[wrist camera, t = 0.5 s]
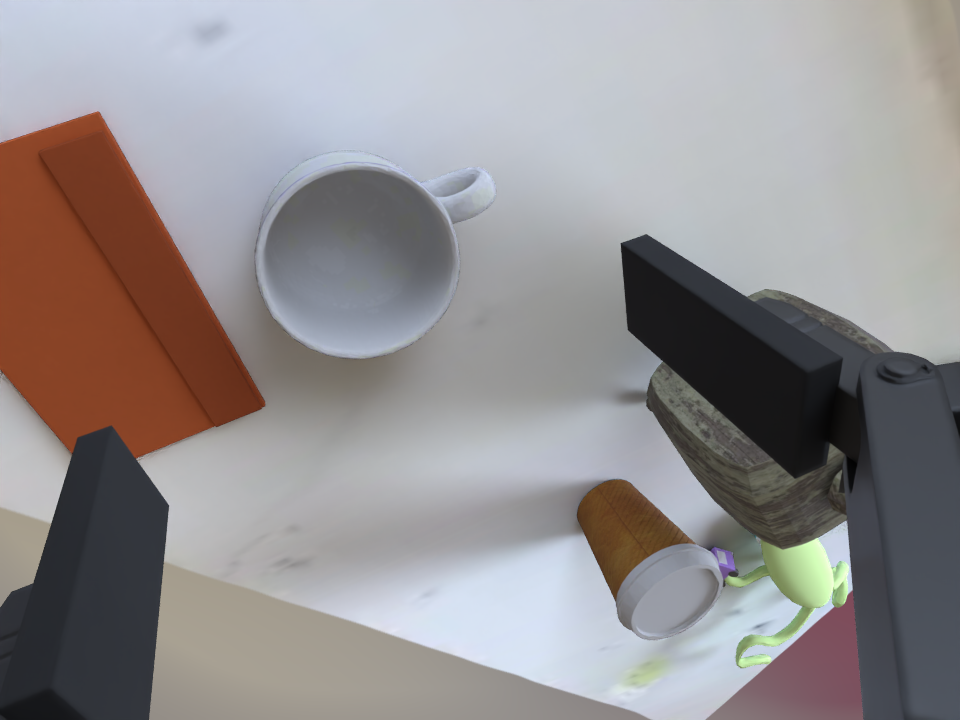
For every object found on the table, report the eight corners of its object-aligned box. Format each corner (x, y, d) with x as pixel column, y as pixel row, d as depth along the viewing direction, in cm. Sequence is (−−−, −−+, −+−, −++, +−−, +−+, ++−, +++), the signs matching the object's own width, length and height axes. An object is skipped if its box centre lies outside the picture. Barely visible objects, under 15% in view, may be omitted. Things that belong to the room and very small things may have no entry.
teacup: (292, 325, 42) (305, 388, 36) (217, 167, 36) (216, 208, 30) (485, 253, 44) (531, 300, 38) (446, 92, 38) (491, 115, 32)
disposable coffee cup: (643, 528, 66) (717, 624, 56) (558, 552, 63) (619, 657, 53) (656, 455, 61) (738, 547, 51) (564, 478, 58) (633, 579, 48)
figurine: (719, 651, 84) (748, 689, 79) (679, 536, 68) (712, 576, 64) (838, 578, 85) (872, 613, 80) (825, 449, 69) (867, 483, 65)
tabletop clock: (640, 422, 58) (866, 663, 37) (597, 360, 52) (833, 601, 32) (770, 322, 57) (1073, 512, 37) (740, 248, 52) (1075, 423, 31)
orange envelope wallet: (-146, 190, 31) (-156, 195, 31) (99, 110, 33) (96, 114, 32) (92, 472, 43) (89, 481, 42) (265, 402, 44) (266, 410, 44)
